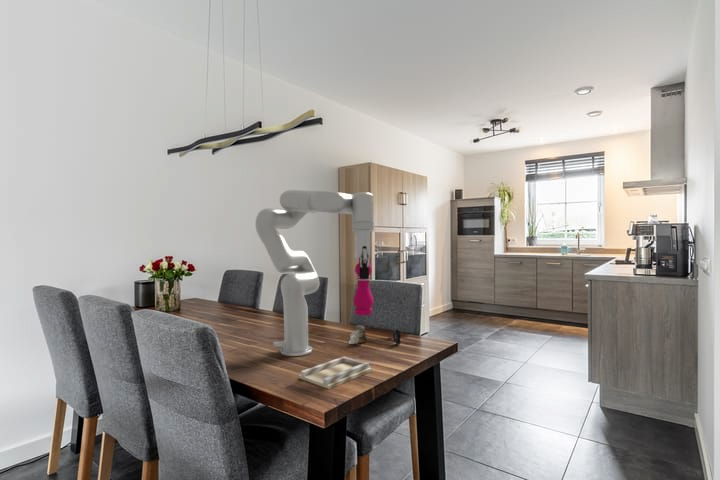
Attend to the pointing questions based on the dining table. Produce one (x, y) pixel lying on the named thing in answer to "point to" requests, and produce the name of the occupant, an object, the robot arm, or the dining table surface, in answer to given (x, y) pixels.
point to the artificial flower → (361, 335)
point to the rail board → (335, 372)
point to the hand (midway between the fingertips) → (363, 277)
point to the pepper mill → (363, 294)
